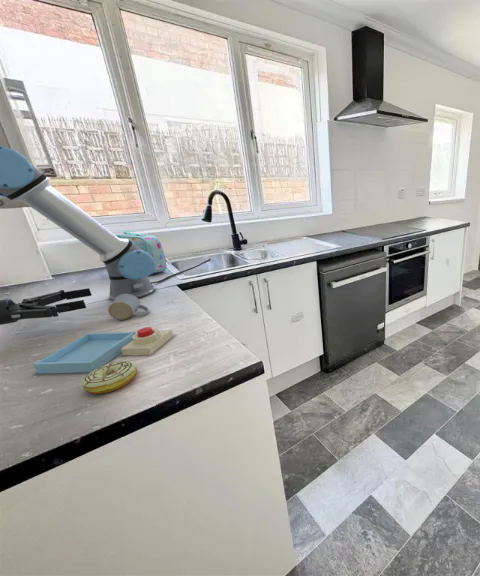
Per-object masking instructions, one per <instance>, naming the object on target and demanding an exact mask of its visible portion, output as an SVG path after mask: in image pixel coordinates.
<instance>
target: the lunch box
mask: <svg viewBox="0 0 480 576" xmlns="http://www.w3.org/2000/svg"><path fill="white" fill-rule="evenodd" d="M115 235H116V236H117V237H118V238H120V239H128V240H129V241H134V242H135V245H136V246H137V247H138V248H140V249H141V250H143V251H145V252H147V253H149V254H150V255H151V256H152V258H153V259H154V262H155V267H154V270H153V272H152V273H151V274H150V275H153V274H158V273H160V272H164V271H166V270H167V260H166V257H165V252H164V249H163V246H162V243H161V240H160V239H159V237H157V236H156V235H153V234H146V233H137V232H131V231H129V230H128V231H123V233H118V234H115Z"/></svg>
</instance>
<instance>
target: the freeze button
mask: <svg viewBox="0 0 480 576" xmlns="http://www.w3.org/2000/svg"><path fill="white" fill-rule="evenodd" d="M152 329H153V327H151V326H146V327H142V328H139V329H137V330H136V331H137V332H136V333H138V336H139V337H146V336H149V335H152V334H153V330H152Z"/></svg>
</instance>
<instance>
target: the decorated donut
mask: <svg viewBox="0 0 480 576" xmlns="http://www.w3.org/2000/svg"><path fill="white" fill-rule="evenodd" d="M137 369H138V366H137V364H136V363H135V362H132V361H122V360H121V361H120V360H119V361H113V362H108V363H106V364H104V365H103V366H101V367H99V368H97V369H96V370H94V371H92V372H88V374H87V375H86V376H85V377H83V379H82V380H81V386H82V389H83V390H85V391H86V392H87V393H91V394H95V395H101V394H106V393H111V392H113V391H117V390H120V389H122V388H124V387H126V385H128V384H129V383H130V382H131V381H133V380H134V379H135V377H136V375H137Z"/></svg>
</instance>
